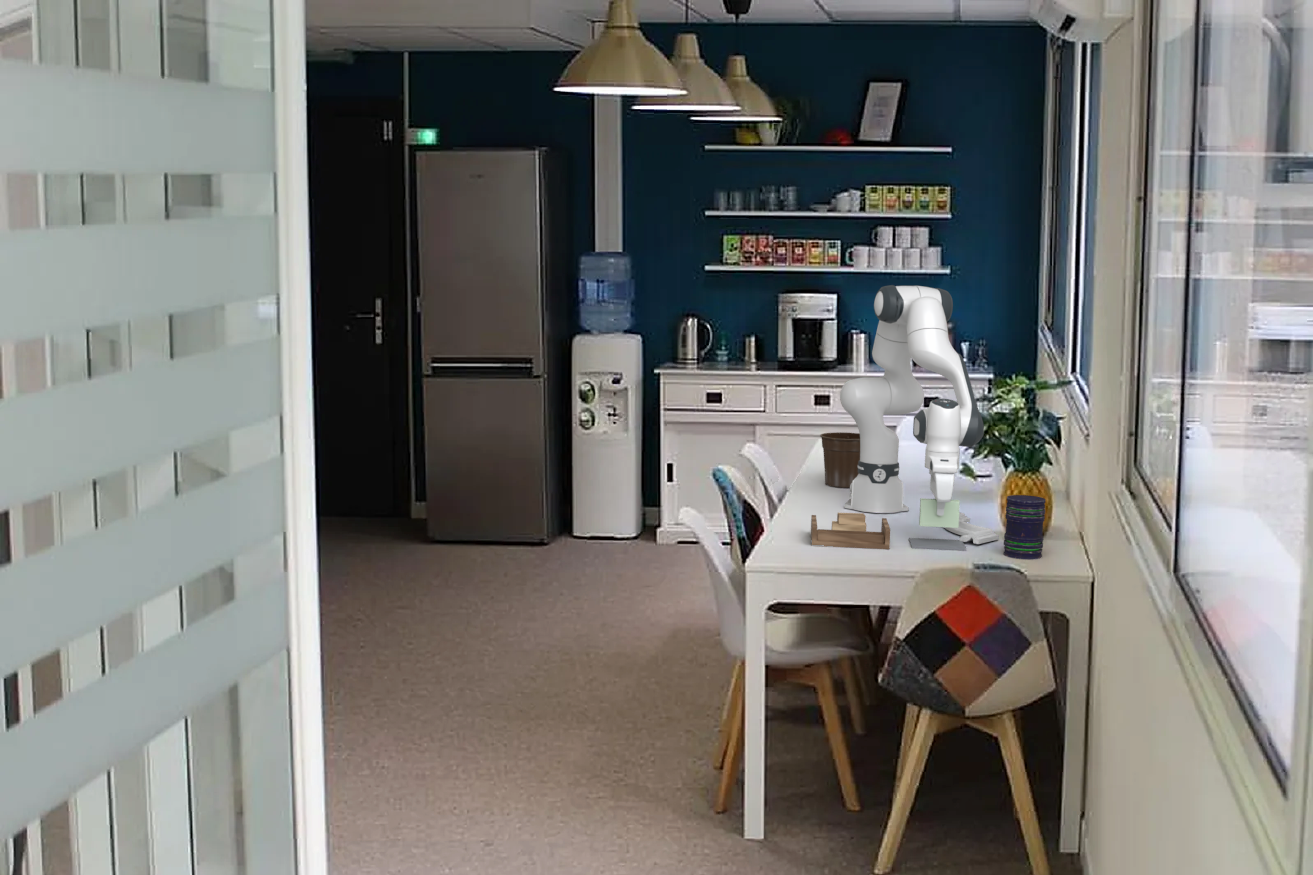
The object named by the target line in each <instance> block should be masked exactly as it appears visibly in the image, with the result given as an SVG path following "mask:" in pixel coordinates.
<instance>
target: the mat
mask: <svg viewBox="0 0 1313 875" xmlns="http://www.w3.org/2000/svg"><path fill="white" fill-rule="evenodd" d="M908 542H909V544H910V547H911V549H924V550H925V549H926V550H942V551H943V550H944V551H967V547H966V545H965V542H963V541H960V539H949V538H948V539H945V538H929V537H928V538H927V537H926V538H924V537H923V538H921V537H908Z"/></svg>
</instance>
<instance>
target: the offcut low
mask: <svg viewBox="0 0 1313 875" xmlns="http://www.w3.org/2000/svg"><path fill="white" fill-rule="evenodd" d="M867 527H868V526H867V522H866V521H865V525H849V524H838V522H837V520H831V530H846V531H867Z"/></svg>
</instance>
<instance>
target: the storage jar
mask: <svg viewBox="0 0 1313 875" xmlns="http://www.w3.org/2000/svg"><path fill="white" fill-rule="evenodd" d="M1045 503H1046V499H1045V498H1044V497H1041V496H1036V495H1035V496H1034V495H1025V494H1023V495H1022V494H1012V495H1008V496H1006V506H1005V519H1006V522H1005V523H1006V524H1005V525H1006V526H1005V532H1004V536H1003V538H1004V539H1003V549H1004V550H1003V556H1005V557H1007V558H1011V559H1015V560H1025V561H1026V560H1032V561H1033V560H1040V559H1042V558H1043V554H1042V552H1043V548H1044V535H1043V531H1044V530H1043V529H1044V522H1045V516H1046V504H1045ZM1041 557H1042V558H1041Z"/></svg>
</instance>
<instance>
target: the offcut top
mask: <svg viewBox="0 0 1313 875" xmlns="http://www.w3.org/2000/svg"><path fill="white" fill-rule="evenodd" d="M836 516H837V518H836V521H837V522H838V524H849V525H865V522H866V518H867V517H866V515H865V513H864V512H863V513H861V512H837V514H836Z"/></svg>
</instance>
